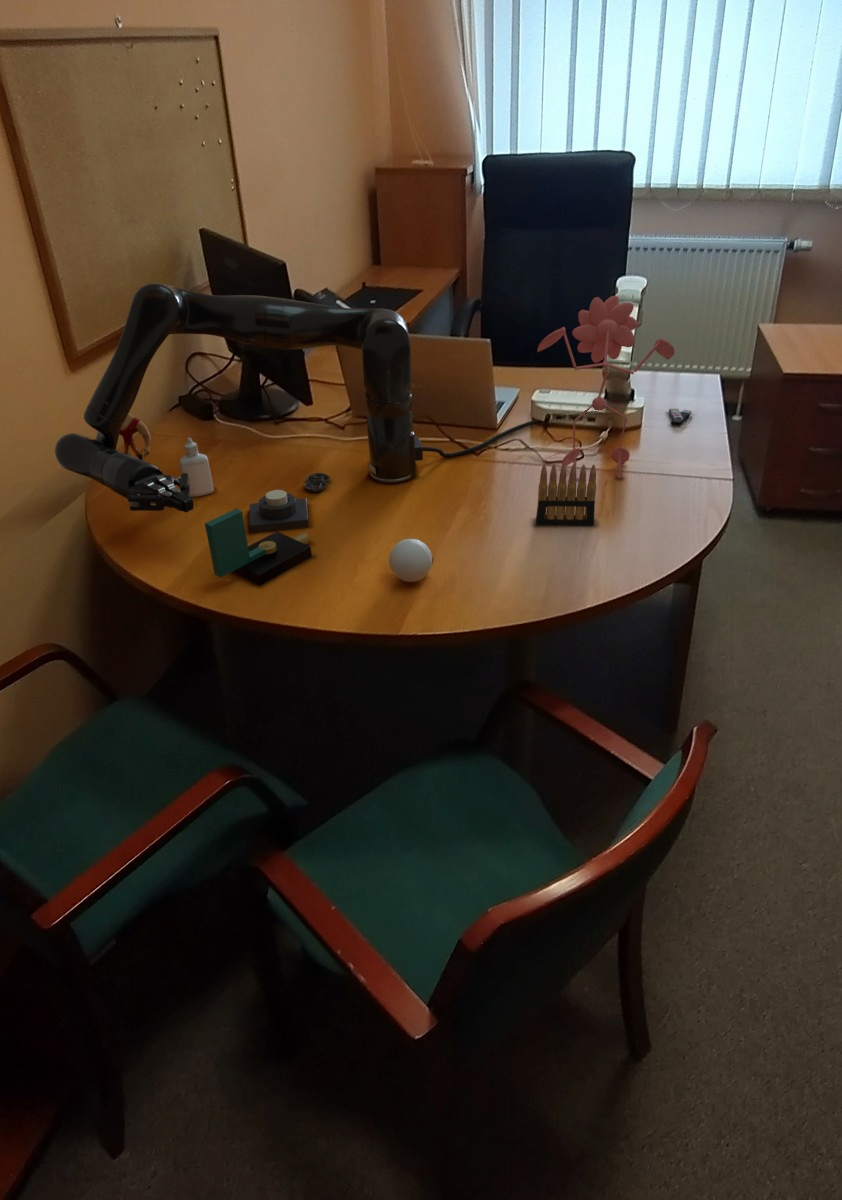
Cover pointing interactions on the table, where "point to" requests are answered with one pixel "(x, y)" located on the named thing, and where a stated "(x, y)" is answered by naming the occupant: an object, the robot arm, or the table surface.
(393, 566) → the white sphere
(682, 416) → the usb flash drive
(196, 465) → the eye dropper bottle
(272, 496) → the button
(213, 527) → the valve lever
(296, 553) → the valve block
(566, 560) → the table surface
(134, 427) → the action figure
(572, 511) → the ammunition clip
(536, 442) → the table surface
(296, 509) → the button housing
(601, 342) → the flower sculpture
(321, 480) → the corroded twin loop
